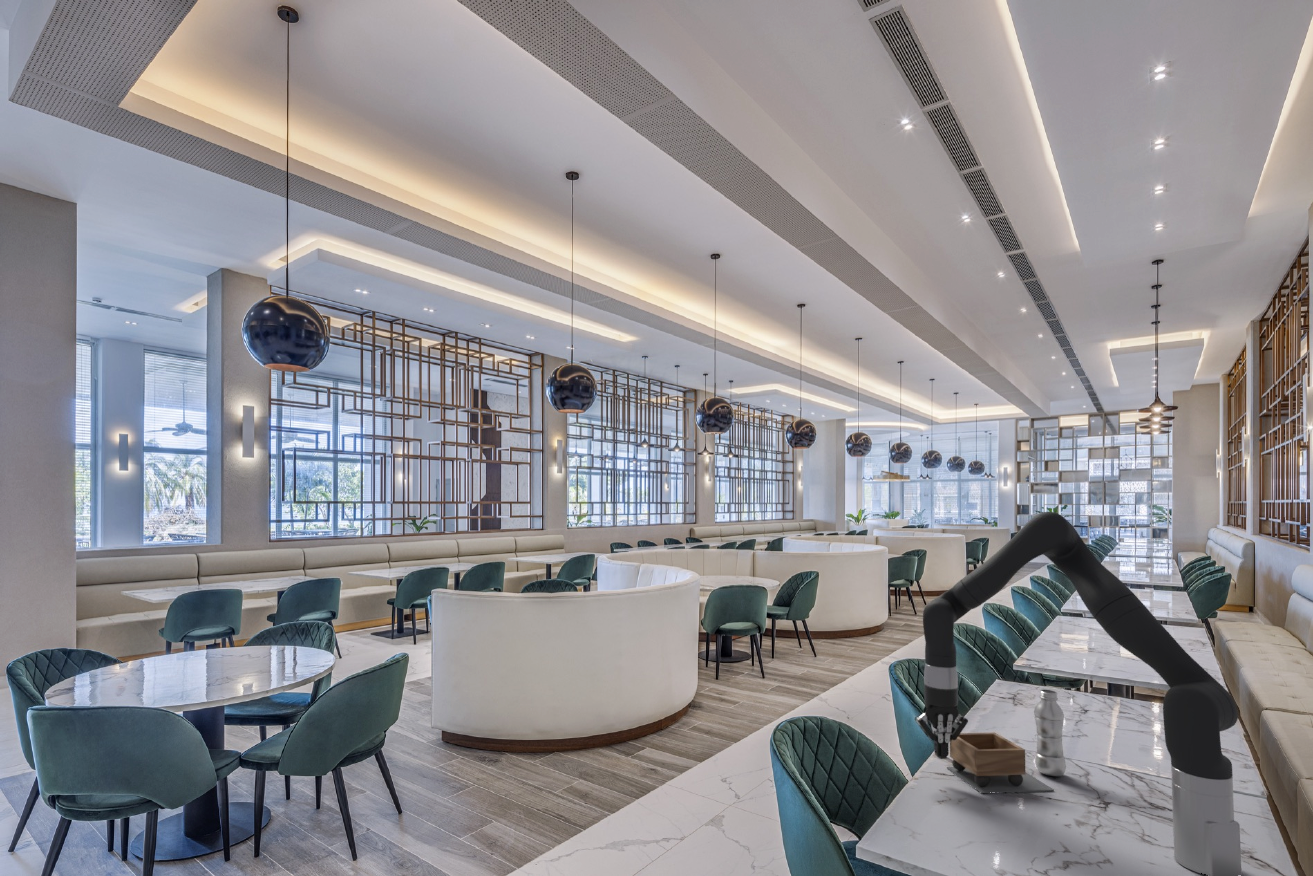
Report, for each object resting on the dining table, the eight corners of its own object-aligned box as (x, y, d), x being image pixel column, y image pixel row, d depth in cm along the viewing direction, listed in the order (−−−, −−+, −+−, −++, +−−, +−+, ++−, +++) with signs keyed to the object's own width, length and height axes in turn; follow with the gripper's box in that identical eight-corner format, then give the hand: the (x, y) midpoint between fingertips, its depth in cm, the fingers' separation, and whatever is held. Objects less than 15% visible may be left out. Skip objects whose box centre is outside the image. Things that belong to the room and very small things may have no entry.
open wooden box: (1025, 787, 166) (1025, 749, 167) (977, 788, 165) (977, 751, 166) (995, 767, 178) (994, 732, 179) (950, 768, 177) (949, 733, 177)
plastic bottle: (1070, 781, 172) (1068, 696, 173) (1039, 778, 173) (1038, 693, 175) (1060, 770, 178) (1059, 689, 180) (1031, 768, 180) (1029, 687, 181)
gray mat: (1054, 791, 166) (1053, 789, 166) (981, 794, 163) (981, 792, 163) (1014, 766, 180) (1013, 765, 181) (946, 768, 178) (946, 767, 178)
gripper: (922, 688, 167) (923, 764, 166) (975, 687, 169) (976, 763, 168) (907, 679, 175) (907, 752, 174) (958, 679, 176) (959, 751, 175)
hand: (941, 757), depth 171 cm, fingers closed
